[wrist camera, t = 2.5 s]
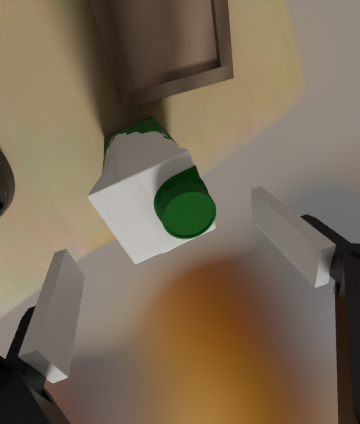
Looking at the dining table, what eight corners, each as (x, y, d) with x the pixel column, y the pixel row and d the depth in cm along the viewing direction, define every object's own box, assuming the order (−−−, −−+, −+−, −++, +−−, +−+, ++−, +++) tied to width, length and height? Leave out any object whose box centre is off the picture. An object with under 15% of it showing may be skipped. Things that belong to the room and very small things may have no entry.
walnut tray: (124, 106, 30) (124, 108, 27) (73, -50, 22) (68, -63, 20) (225, 77, 31) (233, 78, 29) (210, -81, 23) (220, -96, 21)
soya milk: (178, 164, 35) (234, 245, 19) (124, 188, 35) (132, 291, 19) (155, 106, 30) (202, 145, 14) (93, 134, 30) (65, 208, 14)
